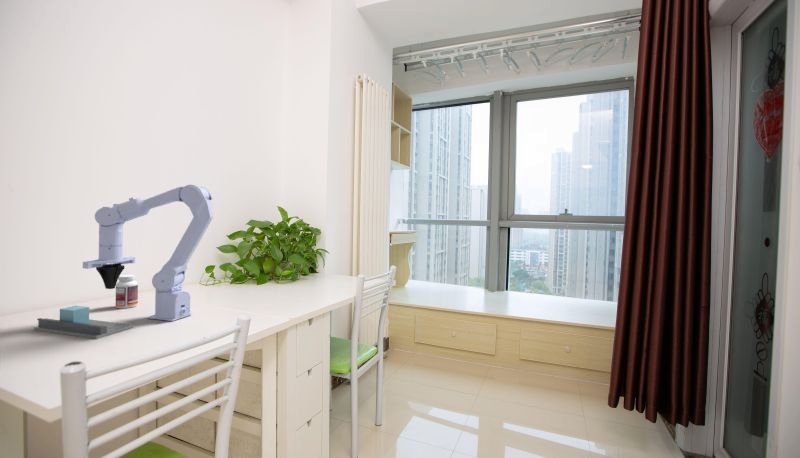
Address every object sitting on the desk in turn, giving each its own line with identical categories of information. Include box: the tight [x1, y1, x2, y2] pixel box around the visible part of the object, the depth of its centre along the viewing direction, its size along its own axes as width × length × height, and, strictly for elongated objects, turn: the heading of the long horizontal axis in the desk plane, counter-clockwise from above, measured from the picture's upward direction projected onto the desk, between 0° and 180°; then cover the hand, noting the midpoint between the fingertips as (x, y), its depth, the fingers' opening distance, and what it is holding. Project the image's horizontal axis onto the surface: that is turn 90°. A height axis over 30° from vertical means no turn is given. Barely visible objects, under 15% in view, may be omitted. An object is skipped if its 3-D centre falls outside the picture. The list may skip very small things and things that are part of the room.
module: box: [59, 305, 90, 324], centre depth 99 cm, size 5×4×5 cm
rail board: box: [33, 317, 134, 340], centre depth 98 cm, size 22×10×3 cm, turn 78°
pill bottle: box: [115, 274, 139, 309], centre depth 122 cm, size 6×6×11 cm
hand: (110, 288), depth 109 cm, fingers closed
